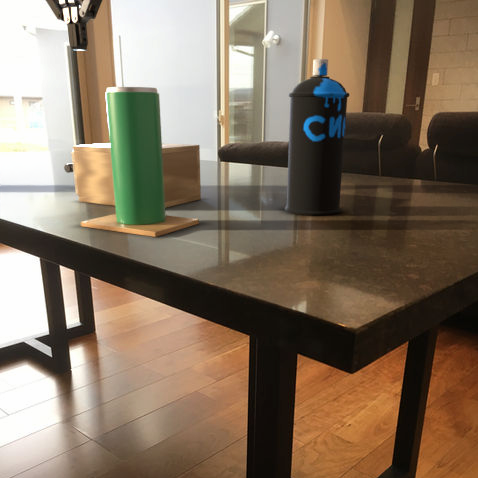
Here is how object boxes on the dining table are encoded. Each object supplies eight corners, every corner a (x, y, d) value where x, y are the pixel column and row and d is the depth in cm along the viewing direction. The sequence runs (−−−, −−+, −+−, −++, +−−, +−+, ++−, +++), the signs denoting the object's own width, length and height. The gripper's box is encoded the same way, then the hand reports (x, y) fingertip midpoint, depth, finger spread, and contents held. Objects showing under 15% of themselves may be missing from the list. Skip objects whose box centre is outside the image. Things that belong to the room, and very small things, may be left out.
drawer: (57, 192, 86) (52, 150, 84) (104, 185, 95) (100, 146, 93) (145, 202, 78) (142, 154, 75) (187, 193, 86) (186, 150, 84)
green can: (106, 221, 65) (93, 87, 60) (138, 214, 70) (129, 89, 65) (144, 226, 63) (135, 86, 57) (175, 218, 68) (169, 88, 62)
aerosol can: (274, 208, 78) (278, 60, 71) (319, 204, 82) (327, 63, 74) (305, 217, 71) (313, 55, 64) (352, 212, 75) (365, 58, 67)
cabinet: (79, 201, 84) (72, 145, 81) (129, 192, 93) (125, 142, 90) (155, 210, 77) (151, 149, 73) (201, 199, 86) (199, 144, 83)
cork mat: (80, 226, 66) (80, 221, 65) (128, 215, 73) (128, 210, 73) (155, 237, 60) (155, 232, 60) (199, 223, 67) (199, 219, 67)
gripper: (17, -77, 79) (33, 50, 86) (79, -93, 73) (92, 45, 80) (55, -64, 85) (68, 54, 92) (116, -77, 79) (125, 50, 86)
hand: (79, 49), depth 86 cm, fingers closed
